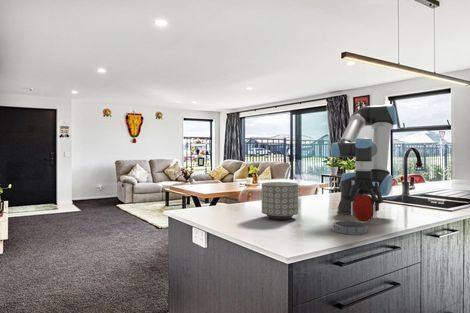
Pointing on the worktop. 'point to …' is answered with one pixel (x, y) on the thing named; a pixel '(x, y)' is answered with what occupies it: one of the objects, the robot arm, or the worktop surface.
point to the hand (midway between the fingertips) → (363, 216)
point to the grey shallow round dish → (350, 227)
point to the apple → (363, 207)
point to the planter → (280, 199)
